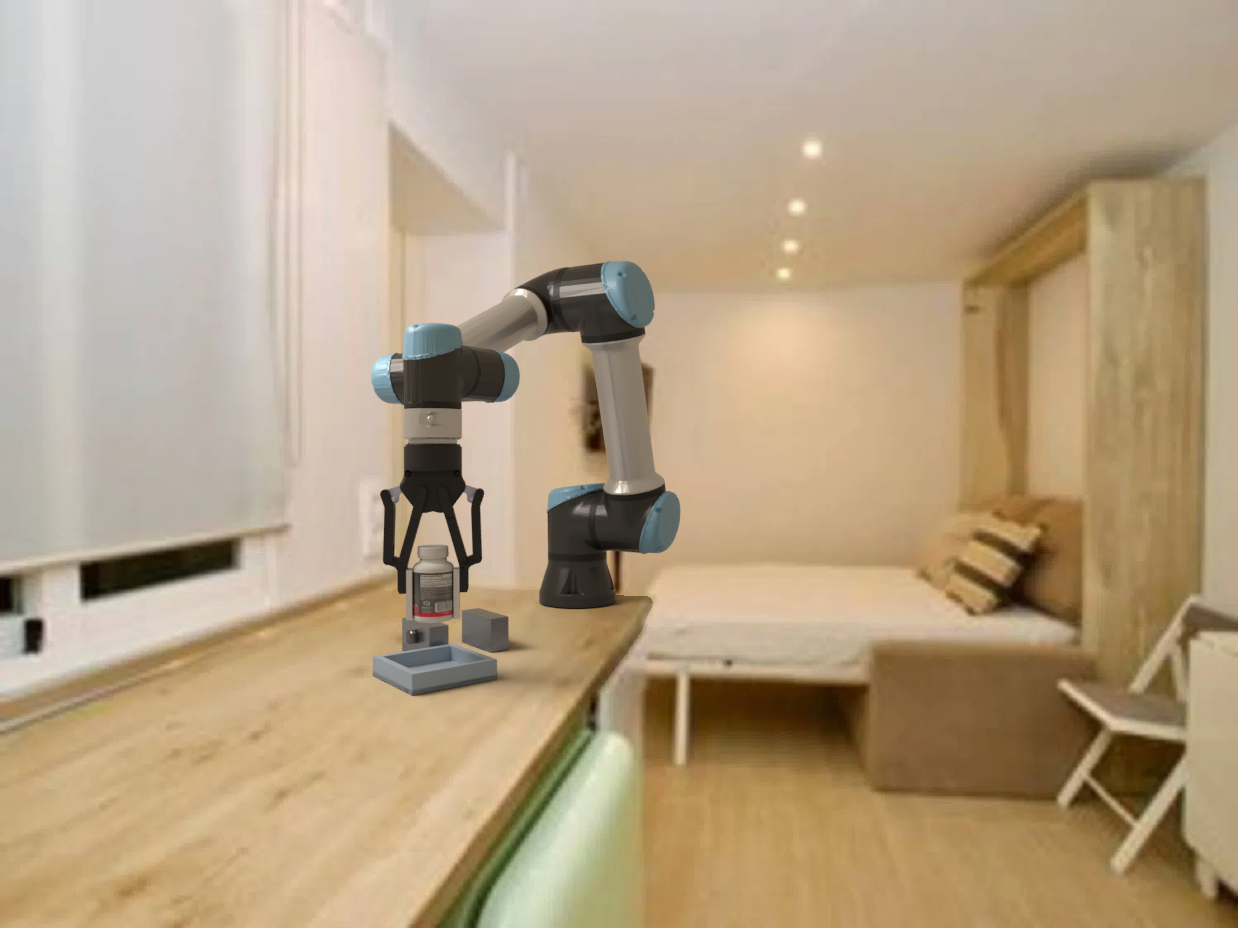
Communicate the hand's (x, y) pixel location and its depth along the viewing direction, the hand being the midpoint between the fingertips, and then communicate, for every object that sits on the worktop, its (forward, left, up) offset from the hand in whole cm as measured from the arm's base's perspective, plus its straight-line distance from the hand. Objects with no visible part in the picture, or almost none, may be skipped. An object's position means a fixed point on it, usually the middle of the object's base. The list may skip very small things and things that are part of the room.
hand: (433, 617), depth 115 cm
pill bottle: (0, 0, 0) cm, 0 cm away
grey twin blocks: (-10, -12, -8) cm, 17 cm away
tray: (0, 0, -8) cm, 8 cm away
